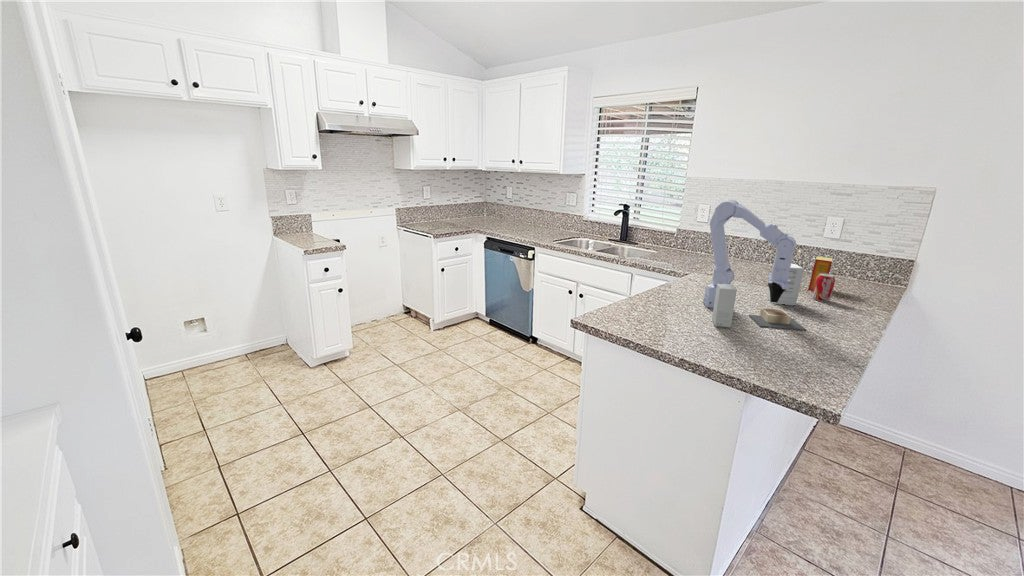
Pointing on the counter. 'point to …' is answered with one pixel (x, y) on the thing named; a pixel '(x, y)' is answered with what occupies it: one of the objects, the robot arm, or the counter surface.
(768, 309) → the maple slab
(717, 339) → the counter surface
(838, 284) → the counter surface
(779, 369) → the counter surface
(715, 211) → the robot arm
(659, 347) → the counter surface
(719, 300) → the skincare box
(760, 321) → the mat
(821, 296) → the soda can
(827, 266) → the baking soda box
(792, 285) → the supplement box
